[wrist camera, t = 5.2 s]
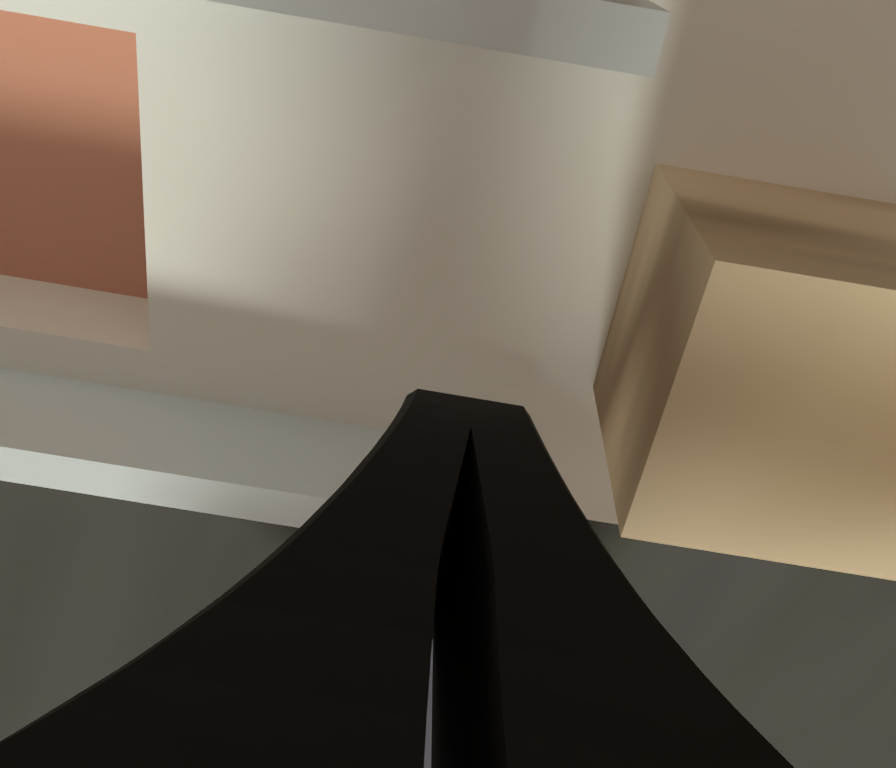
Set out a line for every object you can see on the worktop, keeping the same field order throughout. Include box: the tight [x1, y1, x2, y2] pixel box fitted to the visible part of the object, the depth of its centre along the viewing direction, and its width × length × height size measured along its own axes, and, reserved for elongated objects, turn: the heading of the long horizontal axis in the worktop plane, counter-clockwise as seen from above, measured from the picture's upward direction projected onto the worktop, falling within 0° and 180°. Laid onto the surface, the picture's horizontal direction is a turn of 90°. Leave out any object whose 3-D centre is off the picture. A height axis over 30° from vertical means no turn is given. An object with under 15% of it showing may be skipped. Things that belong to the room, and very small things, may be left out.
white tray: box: [0, 0, 896, 528], centre depth 15 cm, size 11×22×5 cm, turn 81°
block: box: [593, 164, 896, 581], centre depth 13 cm, size 4×4×4 cm
